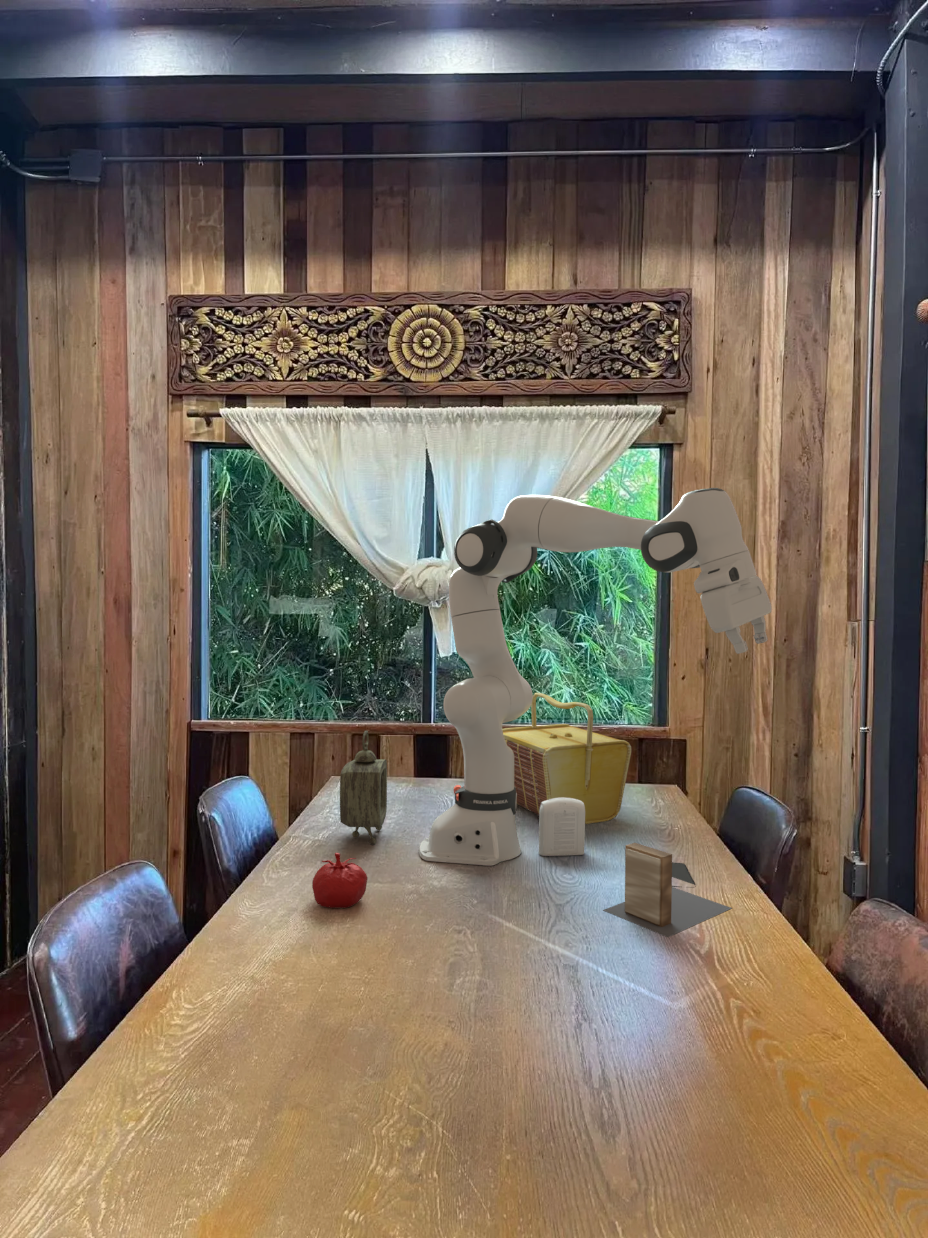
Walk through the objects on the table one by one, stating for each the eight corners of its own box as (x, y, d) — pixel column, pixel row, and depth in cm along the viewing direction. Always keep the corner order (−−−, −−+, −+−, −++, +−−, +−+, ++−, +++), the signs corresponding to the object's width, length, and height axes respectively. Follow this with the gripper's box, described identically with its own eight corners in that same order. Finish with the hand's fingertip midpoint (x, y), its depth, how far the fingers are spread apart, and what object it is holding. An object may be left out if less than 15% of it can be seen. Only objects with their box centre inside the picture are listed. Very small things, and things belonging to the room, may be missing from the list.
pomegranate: (356, 917, 139) (356, 865, 138) (303, 911, 141) (303, 860, 140) (374, 894, 148) (374, 846, 148) (324, 889, 150) (324, 842, 150)
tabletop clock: (379, 848, 175) (379, 737, 174) (339, 847, 175) (338, 736, 174) (386, 828, 190) (387, 726, 189) (349, 828, 190) (349, 725, 189)
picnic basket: (490, 803, 212) (490, 693, 211) (570, 793, 223) (571, 689, 222) (545, 834, 186) (546, 708, 185) (634, 821, 197) (635, 702, 196)
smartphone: (685, 862, 165) (697, 888, 151) (685, 867, 165) (697, 893, 151) (649, 861, 166) (658, 886, 151) (649, 865, 166) (658, 890, 151)
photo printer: (581, 849, 175) (582, 794, 174) (587, 856, 170) (587, 800, 170) (536, 851, 173) (536, 796, 173) (541, 858, 169) (541, 801, 168)
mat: (667, 940, 129) (667, 937, 129) (602, 913, 140) (602, 910, 140) (732, 911, 141) (732, 908, 141) (667, 888, 152) (667, 885, 152)
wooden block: (660, 928, 133) (661, 858, 132) (623, 912, 139) (624, 845, 138) (671, 923, 134) (672, 854, 134) (634, 908, 141) (634, 842, 140)
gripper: (735, 572, 150) (757, 641, 150) (688, 585, 135) (713, 662, 134) (766, 562, 146) (789, 633, 145) (722, 575, 131) (747, 654, 130)
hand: (752, 647), depth 140 cm, fingers open, 8 cm apart
